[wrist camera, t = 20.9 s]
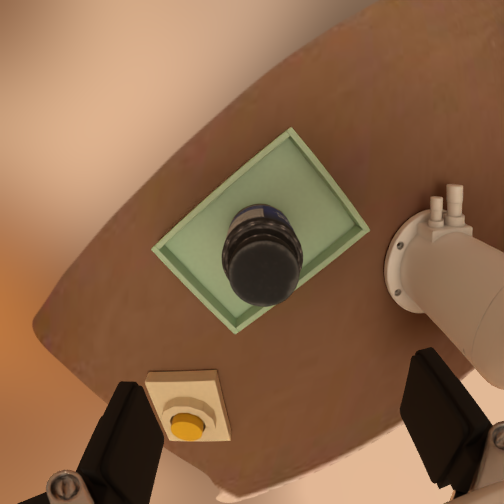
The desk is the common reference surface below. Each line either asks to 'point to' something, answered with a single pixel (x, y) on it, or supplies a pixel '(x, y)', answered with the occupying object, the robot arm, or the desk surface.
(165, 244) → the tray
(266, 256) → the pill bottle
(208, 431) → the box
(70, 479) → the robot arm
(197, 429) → the button
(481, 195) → the desk surface
